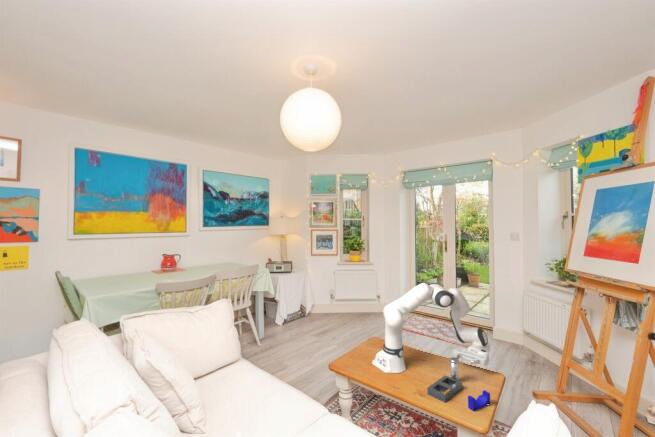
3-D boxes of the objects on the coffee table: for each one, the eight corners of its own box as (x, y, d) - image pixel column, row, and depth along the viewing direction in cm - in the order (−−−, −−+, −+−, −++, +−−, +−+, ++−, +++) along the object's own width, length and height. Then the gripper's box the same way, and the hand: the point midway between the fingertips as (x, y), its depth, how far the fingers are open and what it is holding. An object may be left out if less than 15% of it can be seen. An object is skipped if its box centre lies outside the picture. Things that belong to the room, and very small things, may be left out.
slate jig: (427, 394, 158) (427, 387, 158) (445, 381, 170) (444, 375, 170) (445, 402, 150) (444, 395, 150) (462, 388, 162) (461, 381, 162)
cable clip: (482, 400, 151) (482, 388, 151) (490, 405, 147) (489, 393, 147) (465, 406, 147) (465, 394, 147) (473, 411, 142) (472, 399, 143)
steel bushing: (448, 381, 169) (447, 359, 169) (452, 378, 172) (451, 356, 173) (457, 385, 165) (456, 362, 166) (461, 382, 168) (460, 359, 169)
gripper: (458, 343, 194) (447, 349, 185) (491, 353, 178) (481, 360, 169) (458, 352, 193) (448, 359, 185) (491, 363, 178) (481, 371, 169)
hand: (464, 360), depth 177 cm, fingers open, 8 cm apart
